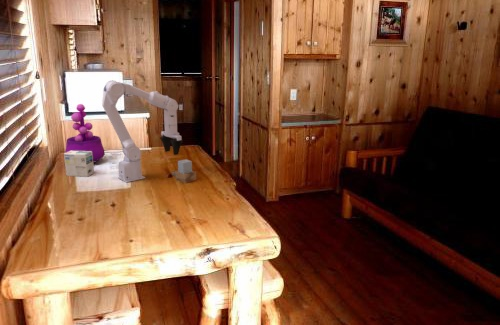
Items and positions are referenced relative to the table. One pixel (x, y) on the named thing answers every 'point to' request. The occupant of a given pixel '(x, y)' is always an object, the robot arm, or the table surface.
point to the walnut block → (186, 176)
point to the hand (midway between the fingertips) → (171, 152)
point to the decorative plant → (84, 137)
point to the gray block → (184, 166)
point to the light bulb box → (79, 163)
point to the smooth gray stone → (174, 173)
